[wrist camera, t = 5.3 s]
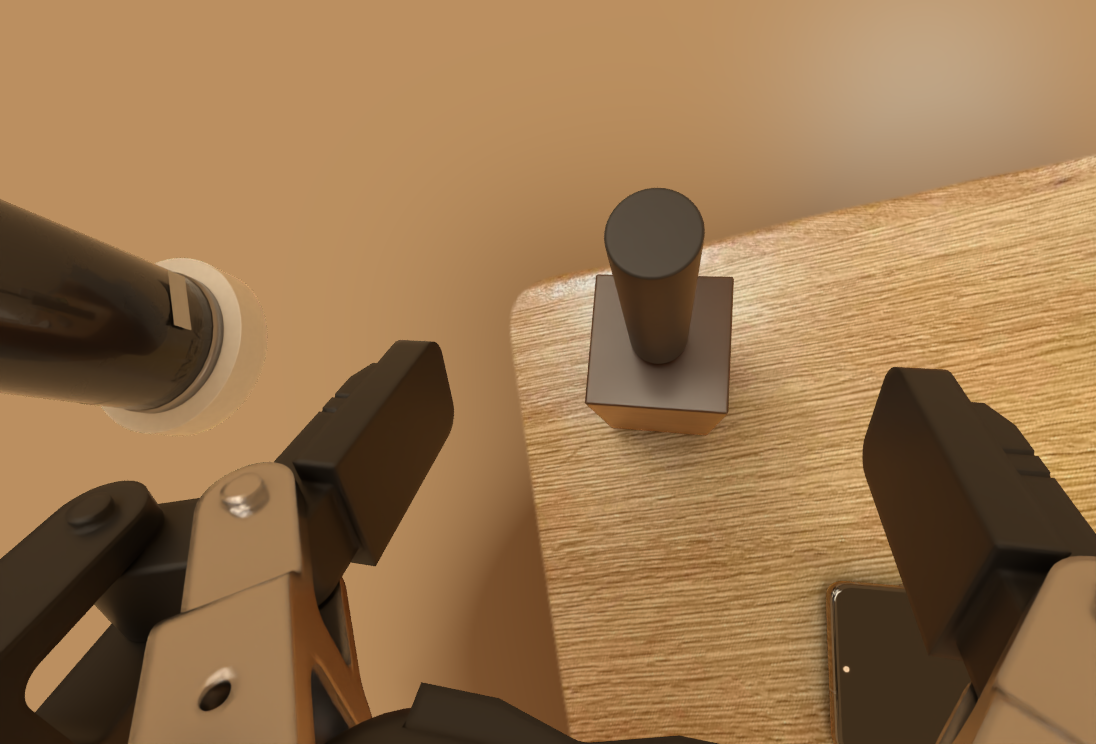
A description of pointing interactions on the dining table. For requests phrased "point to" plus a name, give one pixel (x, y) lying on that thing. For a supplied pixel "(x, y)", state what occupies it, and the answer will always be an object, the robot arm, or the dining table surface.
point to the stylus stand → (662, 366)
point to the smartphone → (885, 669)
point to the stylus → (656, 269)
